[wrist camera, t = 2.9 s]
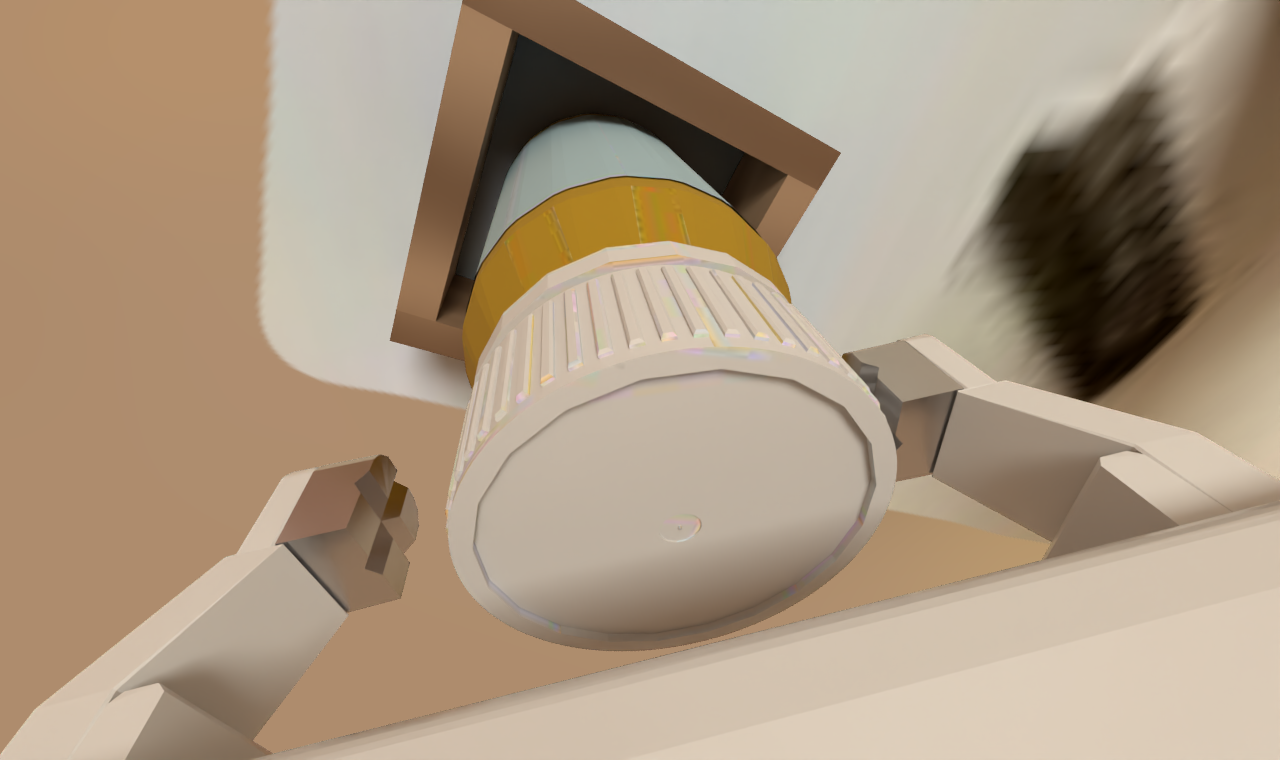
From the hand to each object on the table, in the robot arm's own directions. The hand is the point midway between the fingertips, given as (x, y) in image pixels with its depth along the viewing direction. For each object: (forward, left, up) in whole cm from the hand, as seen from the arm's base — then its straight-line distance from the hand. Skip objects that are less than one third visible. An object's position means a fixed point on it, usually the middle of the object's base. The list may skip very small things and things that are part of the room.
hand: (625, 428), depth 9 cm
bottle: (-1, 0, -13) cm, 13 cm away
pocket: (-1, 0, -12) cm, 12 cm away
